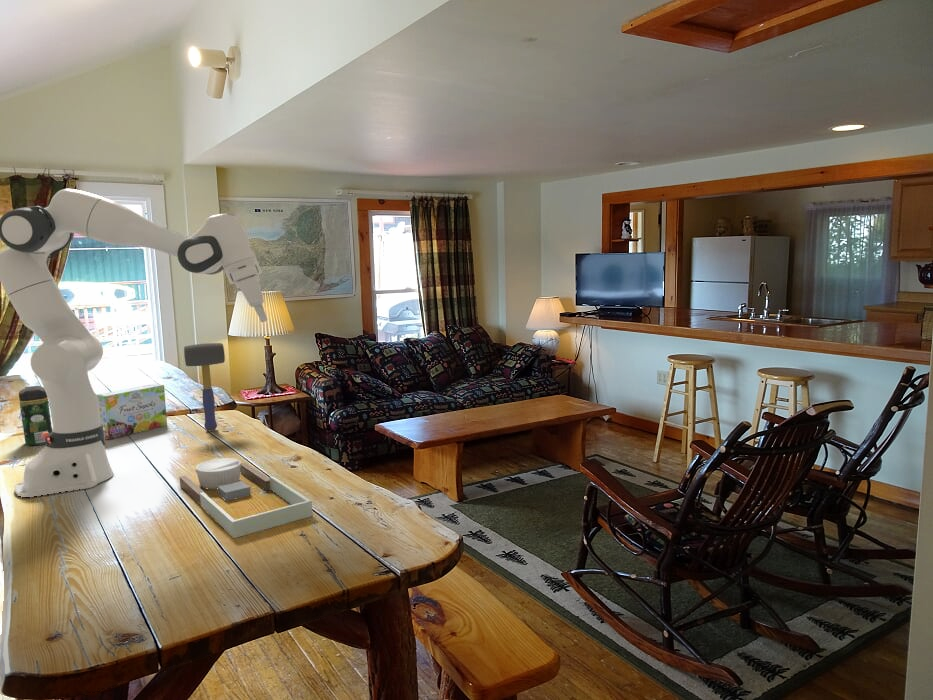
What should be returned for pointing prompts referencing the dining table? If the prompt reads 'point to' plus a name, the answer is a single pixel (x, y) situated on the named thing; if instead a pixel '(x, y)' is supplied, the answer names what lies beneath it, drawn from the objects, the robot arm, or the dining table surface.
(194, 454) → the dining table surface
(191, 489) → the runway rails
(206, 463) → the ramekin
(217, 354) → the rubber mallet
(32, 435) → the coffee jar
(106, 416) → the snack box
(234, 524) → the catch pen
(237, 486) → the slate tile
